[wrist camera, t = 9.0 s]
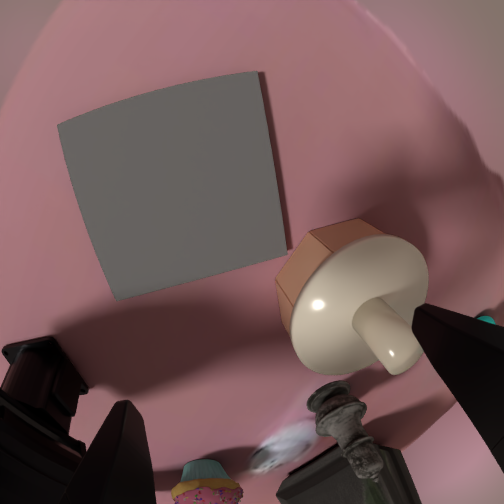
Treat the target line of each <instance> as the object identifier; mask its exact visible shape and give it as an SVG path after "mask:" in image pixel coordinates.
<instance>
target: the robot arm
mask: <svg viewBox="0 0 504 504" xmlns="http://www.w3.org/2000/svg"><path fill="white" fill-rule="evenodd" d="M411 329H412V332H413V334H414V336H415V338H416V339H417V341H418V343H419V344H420V346H421V347H422V349H423V351H424V352H425V354H426V356H427V358H428V359H429V361H430V363H431V364H432V366H433V367H434V369H435V370H436V372H437V373H438V374H439V376H440V377H441V379H442V380H443V381H444V383H445V384H446V385H447V387H448V388H449V390H450V391H451V392H452V394H453V395H454V397H455V398H456V400H457V401H458V402H459V404H460V405H461V407H462V408H463V410H464V411H465V413H466V414H467V416H468V417H469V418H470V420H471V422H472V423H473V425H474V426H475V427H476V429H477V431H478V432H479V434H480V435H481V437H482V438H483V440H484V441H485V443H486V445H487V446H488V448H489V449H490V450H491V453H492V455H493V456H494V458H495V459H496V461H497V463H498V464H499V466H500V467H501V470H502V471H503V473H504V327H502V326H499V325H495V324H492V323H489V322H486V321H482V320H479V319H476V318H473V317H469V316H466V315H463V314H460V313H456V312H453V311H450V310H447V309H443V308H440V307H437V306H434V305H430V304H427V303H425V304H422V305H420V306H418V307H416V308H415V310H414V314H413V320H412V325H411ZM49 342H50V343H49ZM51 343H52V344H51ZM2 354H3V355H4V357H5V358H6V359H7V361H8V362H9V364H10V367H9V369H8V371H7V373H6V376H5V378H4V380H3V383H2V385H1V387H0V504H156V496H155V488H154V478H153V469H152V462H151V457H150V452H149V447H148V442H147V437H146V431H145V425H144V420H143V418H142V416H141V414H140V413H139V411H138V410H137V409H136V407H135V406H134V405H133V403H132V402H131V401H130V400H122V401H117V402H116V403H115V404H114V406H113V407H112V409H111V411H110V412H109V414H108V416H107V417H106V419H105V421H104V422H103V424H102V426H101V428H100V429H99V431H98V433H97V434H96V436H95V438H94V440H93V441H92V443H91V445H90V447H89V448H88V450H87V452H86V446H85V443H83V442H82V441H80V440H76V439H74V438H73V437H71V436H69V429H70V423H71V418H72V417H74V416H75V414H76V409H77V404H78V399H79V395H85V394H87V393H88V390H89V388H88V386H87V385H86V384H85V382H84V381H83V379H82V378H81V377H80V375H79V374H78V372H77V371H76V370H75V368H74V367H73V365H72V364H71V362H70V361H69V360H68V358H67V357H66V355H65V354H64V352H63V351H62V349H61V348H60V346H59V344H58V343H57V341H56V340H55V339H54V338H53V337H45V338H40V339H36V340H31V341H27V342H22V343H17V344H12V345H7V346H4V347H3V349H2Z"/></svg>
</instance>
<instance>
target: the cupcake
mask: <svg viewBox="0 0 504 504" xmlns="http://www.w3.org/2000/svg"><path fill="white" fill-rule="evenodd" d="M243 493H244V492H243V489H242V488H241V487H240V485H239V483H236V482H235V481H233V480H231V479H230V477H229V476H228V475H227V474H226V472H225V471H224V469H223V468H222V466H221V464H220V463H219V462H217V461H215V460H210V459H200V460H194V461H191V462H189V463H187V464H186V465H185V466H184V469H183V474H182V478H181V481H180V483H178V484H177V485H176V486H175V487H173V488H172V491H171V494H172V498H173V500H174V501H175V504H238V502H241V500H240V499H241V498H243Z"/></svg>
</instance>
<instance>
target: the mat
mask: <svg viewBox="0 0 504 504" xmlns="http://www.w3.org/2000/svg"><path fill="white" fill-rule="evenodd" d="M57 128H58V132H59V137H60V141H61V145H62V149H63V153H64V157H65V161H66V165H67V168H68V172H69V176H70V179H71V182H72V186H73V189H74V192H75V196H76V199H77V202H78V205H79V208H80V211H81V214H82V217H83V220H84V223H85V226H86V228H87V231H88V234H89V237H90V239H91V242H92V245H93V247H94V250H95V252H96V255H97V258H98V260H99V262H100V265H101V267H102V270H103V272H104V275H105V277H106V279H107V282H108V284H109V286H110V288H111V291H112V293H113V295H114V297H115V299H116V301H120V300H124V299H127V298H131V297H135V296H139V295H142V294H146V293H150V292H154V291H157V290H161V289H165V288H169V287H172V286H176V285H180V284H184V283H187V282H191V281H195V280H198V279H202V278H206V277H209V276H213V275H217V274H220V273H224V272H228V271H231V270H235V269H238V268H242V267H246V266H249V265H253V264H256V263H260V262H264V261H267V260H271V259H274V258H278V257H281V256H285V255H288V254H287V247H286V240H285V233H284V226H283V219H282V212H281V206H280V199H279V193H278V186H277V180H276V174H275V168H274V162H273V156H272V150H271V144H270V138H269V132H268V126H267V121H266V115H265V110H264V104H263V99H262V93H261V88H260V83H259V78H258V72H257V71H252V72H245V73H238V74H231V75H225V76H219V77H213V78H208V79H203V80H198V81H193V82H188V83H184V84H179V85H175V86H171V87H167V88H163V89H159V90H155V91H152V92H148V93H145V94H141V95H138V96H134V97H131V98H128V99H125V100H121V101H118V102H115V103H112V104H109V105H106V106H104V107H101V108H98V109H95V110H93V111H90V112H87V113H85V114H82V115H79V116H77V117H74V118H72V119H70V120H67V121H65V122H62V123H60V124H58V125H57Z"/></svg>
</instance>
